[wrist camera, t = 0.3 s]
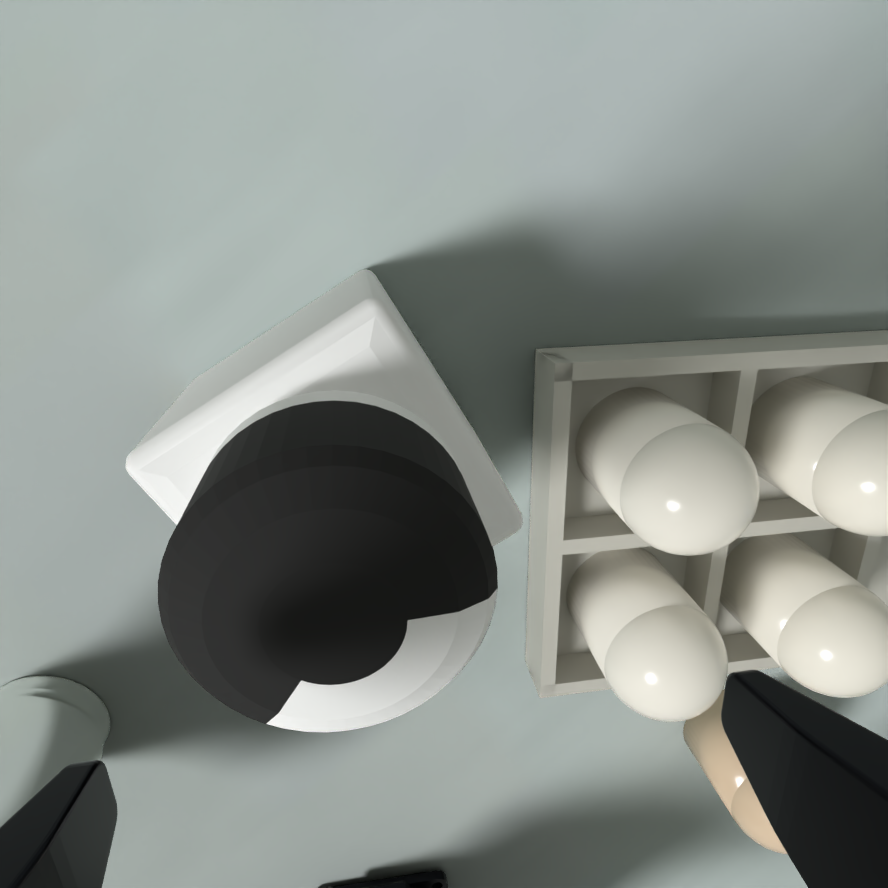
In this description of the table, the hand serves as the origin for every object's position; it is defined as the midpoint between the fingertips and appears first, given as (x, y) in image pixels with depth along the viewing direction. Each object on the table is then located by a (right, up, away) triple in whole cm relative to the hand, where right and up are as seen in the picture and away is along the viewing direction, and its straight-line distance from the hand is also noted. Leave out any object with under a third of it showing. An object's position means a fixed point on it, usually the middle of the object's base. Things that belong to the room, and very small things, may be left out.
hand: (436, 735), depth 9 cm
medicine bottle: (-4, +5, +13) cm, 14 cm away
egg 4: (+14, -1, +17) cm, 22 cm away
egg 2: (+7, -2, +16) cm, 18 cm away
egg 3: (+13, +5, +15) cm, 21 cm away
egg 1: (+7, +4, +14) cm, 16 cm away
